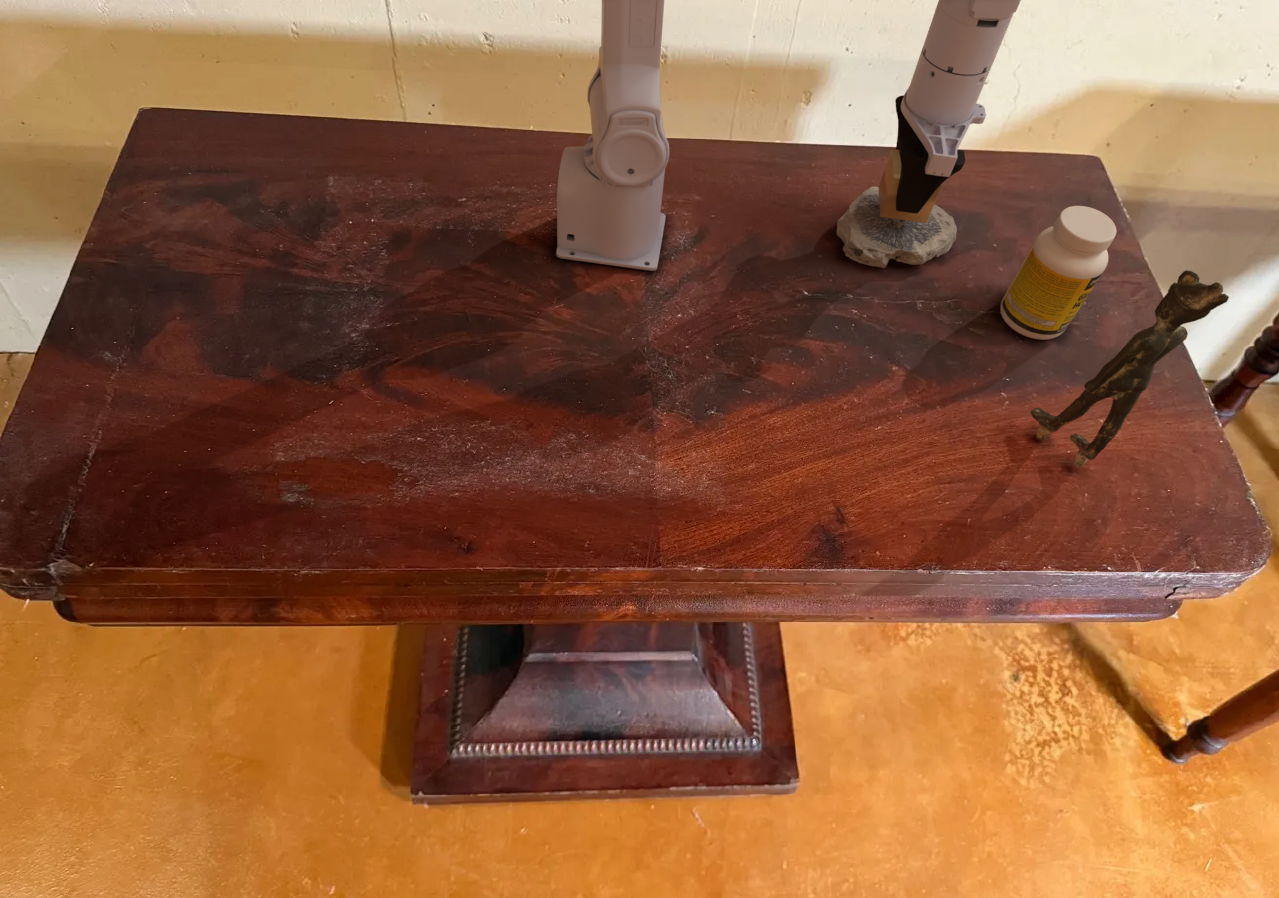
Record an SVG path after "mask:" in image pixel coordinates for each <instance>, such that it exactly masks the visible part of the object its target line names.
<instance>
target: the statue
mask: <svg viewBox="0 0 1279 898" xmlns="http://www.w3.org/2000/svg"><path fill="white" fill-rule="evenodd" d="M1223 292H1224V286H1223V284H1222V283H1220V282H1217V281H1215V282H1213V283H1212V284H1206V283H1202V282H1200V277H1199V274H1197V273H1196V272H1194V271H1192V270H1184V271H1182V273H1181V274H1179V276H1178V278H1177V282H1173V283H1172V284H1171V285H1169V288H1168V290H1167V293H1166V294H1165V296H1164V297H1162V299H1161V300H1160V302H1159V303H1158V305H1157V306H1156V308H1155V310H1154V314H1155V319H1156V322H1155V323H1154V324H1153V325H1152V326H1150V327H1148V328H1145V329H1142V330H1140V331H1138V332H1136V333H1135V334H1133V336H1132V337H1131V339H1129V341H1128V342H1127V343H1126V344H1125V345H1124V347H1122V349H1120V350H1119V352H1118V353H1116V355H1115V356H1114V357H1113V358H1112V359H1110V360H1109V361H1108V362H1107V363H1105V364H1104V365H1103V367H1102V368H1101V369H1100V371H1098V373H1097V374H1096V375H1095V376H1094V377H1093V378H1092V379H1090V380H1088V381H1086V383H1084V385H1083V388H1084V390H1083V391H1082V392H1081V394H1080V395H1079V396H1078V397H1077V398H1075V399H1073V401H1072V402H1071V403H1070V404H1069V405H1068V406H1067V407H1066V408H1065V409H1063V410H1062V411H1061V412H1060V413H1059V414H1058V415H1054V414H1051V413H1049V412H1047V411H1045V410H1044V409H1042V408H1040V407H1037V408H1036V407H1034V408H1033V409H1032V410H1031V411H1030V415H1031V417H1032V418H1033V419H1034V420H1035V421H1036V422H1038V424H1039V426H1038V428H1037V430H1036V431H1035V433H1034V437H1035V438H1036V439H1037V441H1039V442H1044V441H1045V440H1046V439H1047V438H1048V437H1049V436H1050V435H1051V434H1053V433H1056V432H1058V431H1059V430H1060V429H1061V428H1062V427H1064V426H1066V425H1068V424H1070V423H1071V422H1074V421H1076V420H1078V419H1079V418H1082V417H1083V416H1084V415H1085V414H1087V413H1088V412H1089V410H1090V409H1091V408H1092V407H1093V406H1094V405H1095V404H1096V403H1098V402H1100V401H1103V400H1105V399H1108V398H1110V399H1111V398H1112V403H1111V407H1110V410H1109V413H1108V415H1107V417H1106V418H1105V420H1104V421H1103V423H1102V425H1101V426H1100V428H1099V430H1098V432H1097V434H1096V435H1095V437H1094V438H1093V440H1092V441H1091V442H1089V441H1088V440H1087V439H1086V438H1085V437H1084V436H1082V435H1080V434H1078V433H1073V434H1070V436H1069V440H1070V441H1071V442H1072V443H1073V444H1074V445H1075V446H1076V447H1077V448H1078V451H1077V452H1076V454H1075V456H1074V457H1073V458H1072V464H1073V465H1074V466H1075V467H1077V468H1080V467H1082V466H1085V465H1086V464H1087V462H1088V461H1089V460H1090V461H1094V459H1096V458H1097V457H1098V455H1099V454H1100V453H1101V452H1102V451H1104V450H1105V448H1106V447H1107V446H1108V444H1109V443H1110V442H1111V441H1112V440H1113V439H1114V438H1115V437H1116V435H1118V433H1119V432H1120V431H1121V429H1122V427H1123V424H1124V422H1125V420H1126V418H1127V417H1128V415H1129V414H1130V412H1131V411H1133V409H1134V407H1135V405H1137V402H1138V400H1139V399H1140V397H1141V396H1142V393H1143V392H1145V391H1146V390H1147V389H1148V387H1149V385H1150V383H1151V379H1152V376H1153V373H1154V369H1155V366H1156V364H1157V363H1158V362H1159V361H1160V360H1161V359H1162V358H1164V357H1165V356H1167V355H1168V354H1169V353H1170V352H1171V351H1173V350H1174V349H1176V348H1177V347H1178V346H1180V345H1181V344H1182V343H1183V342H1184V341H1186V340H1187V338H1188V330H1187V328H1186V327H1185V326H1183V325H1185V324H1189V323H1193V322H1196V321H1198V320H1202V319H1204V318H1206V317H1207V316H1208V315H1209V314H1210V313H1211V312H1212V311H1213V310H1215V309H1216V308H1218V307H1220V306H1222V305H1224V304H1226V303H1228V300H1229V299H1230V297H1229V295H1227V294H1226V293H1223Z"/></svg>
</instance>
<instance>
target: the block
mask: <svg viewBox="0 0 1279 898" xmlns="http://www.w3.org/2000/svg"><path fill="white" fill-rule="evenodd" d="M900 174H901V159H900V153H899V150H896V148H892V149H891V150H890V153H889V156H888V159H887V162H886V164H885V168H884V171H883V173H882V176H881V179H880V182H879V185H878V187H879V206H880V217H885V218H892V219H900V220H907V221H914V222H922V223H927V221H928V219H929V216H930V214H931V211H932V209H933V206H934V205H936V201H937V200H938V197H939V194H940V193H941V190H942V188H943V187H942V186H943V183H942V184H941V185H940V186H939V187H938V188H937V190H936V191H935V192H934V193H933V195H932V196H931V197H930V199H929V200H928V201H927V203H926V204H925V205H924V206H923V208H922V209H921V210H920V211H919V212H918V213H917V214H915V213H908V212H900V211H897V210H896V196H897V190H898V185H899V180H900Z"/></svg>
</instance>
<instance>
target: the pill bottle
mask: <svg viewBox="0 0 1279 898" xmlns="http://www.w3.org/2000/svg"><path fill="white" fill-rule="evenodd" d="M1116 236H1117V226H1116V224H1115V223H1114V221H1113V220H1112V219H1111V218H1110V217H1109V216H1108V215H1107V214H1105V213H1103V212H1102V211H1100V210H1098V209H1096V208H1093V207H1089V206H1084V205H1072V206H1068V207H1066V208H1065V209H1063V210H1062V211H1061V212H1060V213H1059V215H1058V217H1057V218H1056V220H1055V222H1054V224H1053V226H1049V227H1047V228H1045V229H1044V230H1042V231H1040V232H1039V234H1038V235H1037V236H1036V238H1035V240H1034V241H1033V243H1032V244H1031V247H1030V248H1029V250H1028V252H1027V254H1026V255H1025V257H1024V259H1023V261H1022V263H1021V265H1020V266H1019V268H1018V270H1017V271H1016V274H1015V275H1014V277H1013V279H1012V281H1011V283H1010V284H1009V286H1008V288H1007V290H1006V291H1005V293H1004V296H1003V298H1002V299H1001V302H1000V306H999V307H1000V308H999V309H1000V314H1001V317H1002V319H1003V321H1004V322H1005V323H1006V324H1007V325H1008V326H1009V327H1010V328H1011V329H1012V330H1013V331H1015V332H1016V333H1018V334H1020V335H1022V336H1025V337H1027V338H1029V339H1033V340H1034V339H1035V340H1041V341H1042V340H1043V341H1044V340H1045V341H1046V340H1051V339H1056V338H1057V337H1059V336H1061V335H1062V334H1063V333H1064V332H1065V331H1066V330H1067V328H1068V327H1069V325H1071V323H1072V321H1073V320H1074V318H1075V317H1076V315H1077V313H1078V312H1079V310H1080V308H1081V307H1082V305H1083V304H1084V302H1085V301H1086V299H1087V298H1088V296H1089V295H1090V293H1091V292H1092V290H1093V289H1094V288H1095V286H1096V284H1097V283H1098V281H1099V279H1100V278H1101V277H1102V275H1103V273H1104V272H1105V270H1106V268H1107V267H1108V264H1109V253H1108V249H1109V247H1110V246H1111V244H1112V242H1113V241H1114V239H1115V238H1116Z"/></svg>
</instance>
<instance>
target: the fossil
mask: <svg viewBox="0 0 1279 898" xmlns="http://www.w3.org/2000/svg"><path fill="white" fill-rule="evenodd" d="M957 233H958V228H957V225H956V222H955V219H954V217H953V216H952V215H949V213H948V212H947V211H945V209H943V208H941V207H940V206H938V205H937V204H934V206H933V209H932V211H931V214H930V216H929V219H928V221H927V223H922V222H914V221H907V220H900V219H892V218H885V217H880V206H879V186H873V185H872V186H870V187H869V188H867V189H866V190H864V191H862V192H861V193H860V195H858V196H857V197H856V198H854V200H853V201H851V202H850V204H849V207H848V208H847V210H846V211H845V212H844V213H843V215H842V216H840V217H839V218H838V219H837V221H836V236H837V237H838V238H839V239H840V240H841V242H843V244H844V245H843V247H842V251H843V252H844V254H845V257H847V258H849V259H850V260H852V261H855V262H857V263H858V264H861V265H862V264H863V265H866V266H870V267H877V268H882V269H885V268H886V267H887V265H888V263H889V261H890V260H895V261H896V262H897V263H903V264H907V265H908V264H909V265H913V266H918V265H923V264H925V263H926V262H928V261H930V260H932V259H933V258H939V257H940V256H943V255H944V254H946V253H947V252H949V251H950V249H951V248H952V247H953V243H955V242H956V240H957Z"/></svg>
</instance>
